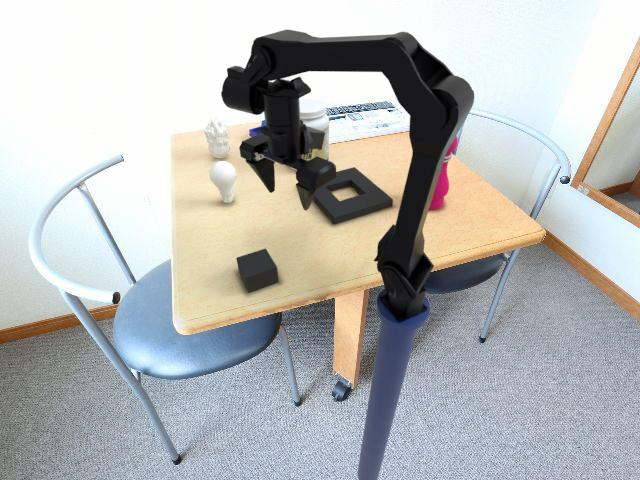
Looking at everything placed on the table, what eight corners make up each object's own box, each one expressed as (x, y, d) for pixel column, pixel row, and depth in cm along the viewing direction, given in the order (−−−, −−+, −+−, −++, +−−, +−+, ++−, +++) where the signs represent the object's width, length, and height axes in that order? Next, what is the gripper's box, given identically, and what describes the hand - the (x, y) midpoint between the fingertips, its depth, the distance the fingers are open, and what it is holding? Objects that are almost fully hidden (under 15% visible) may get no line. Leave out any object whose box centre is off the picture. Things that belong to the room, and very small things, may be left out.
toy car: (290, 134, 122) (289, 119, 118) (259, 144, 116) (257, 129, 113) (279, 128, 126) (278, 113, 122) (248, 137, 120) (246, 122, 117)
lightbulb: (219, 195, 94) (211, 156, 86) (243, 196, 93) (236, 156, 86) (213, 209, 89) (203, 168, 82) (237, 210, 88) (230, 169, 81)
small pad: (278, 282, 70) (277, 267, 67) (248, 292, 68) (245, 277, 65) (267, 262, 74) (265, 248, 72) (239, 272, 72) (235, 257, 70)
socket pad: (392, 206, 89) (393, 199, 88) (334, 224, 84) (334, 217, 82) (354, 173, 102) (354, 166, 100) (301, 187, 96) (301, 180, 95)
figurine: (213, 151, 113) (205, 112, 105) (234, 151, 113) (228, 112, 105) (207, 162, 107) (198, 122, 100) (230, 162, 107) (223, 122, 100)
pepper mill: (451, 205, 89) (472, 126, 76) (428, 214, 86) (447, 133, 74) (430, 191, 94) (447, 114, 81) (408, 199, 91) (422, 121, 78)
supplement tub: (281, 171, 103) (275, 111, 92) (293, 152, 112) (290, 95, 101) (323, 176, 100) (323, 115, 89) (332, 156, 109) (333, 98, 99)
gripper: (358, 119, 59) (353, 200, 69) (278, 94, 69) (284, 168, 79) (312, 142, 53) (314, 227, 63) (231, 111, 63) (244, 189, 73)
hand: (288, 200), depth 70 cm, fingers open, 9 cm apart
